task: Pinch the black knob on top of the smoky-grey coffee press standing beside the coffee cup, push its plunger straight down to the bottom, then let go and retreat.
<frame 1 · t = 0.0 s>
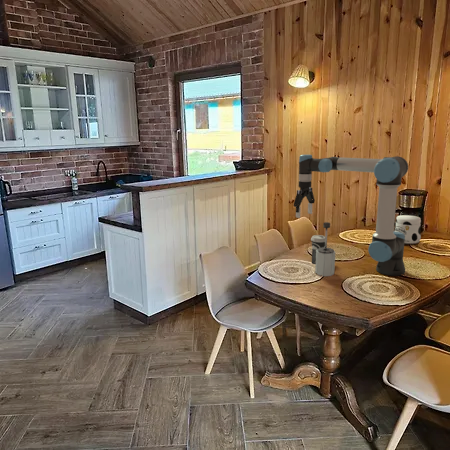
hand: (304, 215, 235), 28 cm above the table, fingers open, 13 cm apart
plunger: (326, 238, 213), point 20 cm above the table, slide at 0.0 cm
milk container: (406, 242, 270), on the table
carafe: (324, 272, 218), on the table
coffee cup: (317, 260, 240), on the table
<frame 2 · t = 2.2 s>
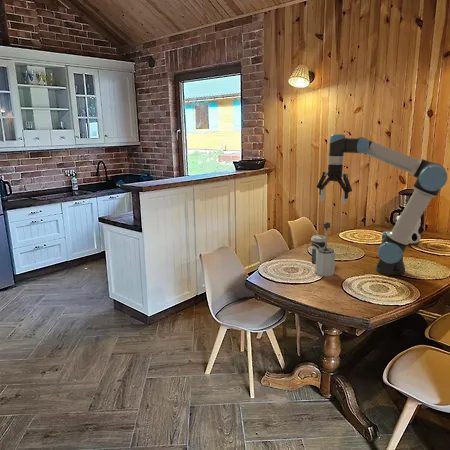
hand: (332, 202, 211), 40 cm above the table, fingers open, 13 cm apart
nothing on the table moved.
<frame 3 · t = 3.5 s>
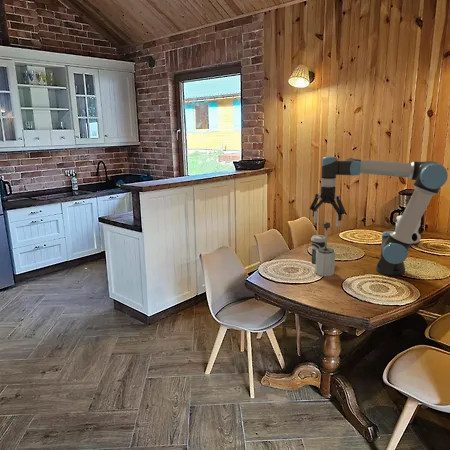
hand: (326, 224, 211), 28 cm above the table, fingers open, 13 cm apart
nothing on the table moved.
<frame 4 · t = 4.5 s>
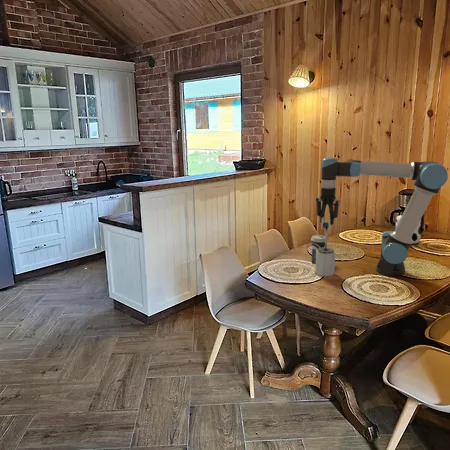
hand: (326, 229, 212), 26 cm above the table, fingers closed on plunger, 4 cm apart
plunger: (326, 238, 213), point 20 cm above the table, slide at 0.0 cm, touching gripper
everything else where it was.
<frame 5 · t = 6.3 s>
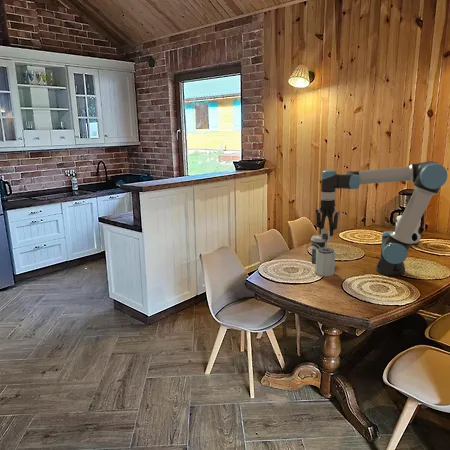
hand: (326, 240, 213), 19 cm above the table, fingers closed on plunger, 4 cm apart
plunger: (325, 249, 215), point 14 cm above the table, slide at 6.5 cm, touching gripper
everything else where it was.
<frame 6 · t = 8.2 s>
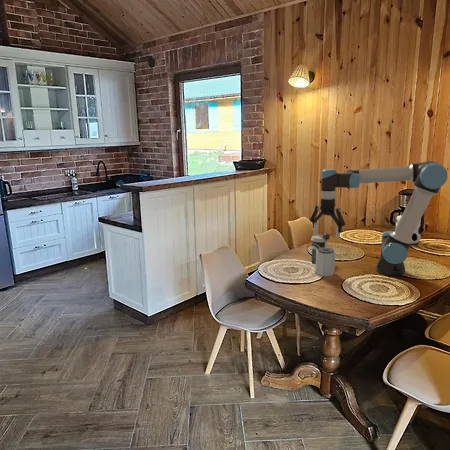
hand: (326, 236, 213), 22 cm above the table, fingers open, 13 cm apart
plunger: (325, 249, 215), point 14 cm above the table, slide at 6.5 cm
everything else where it was.
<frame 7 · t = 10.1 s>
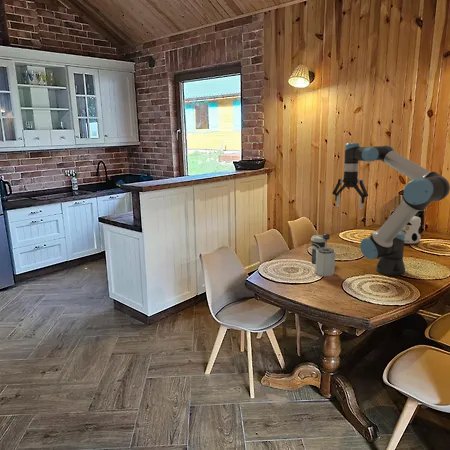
hand: (349, 207, 222), 35 cm above the table, fingers open, 13 cm apart
nothing on the table moved.
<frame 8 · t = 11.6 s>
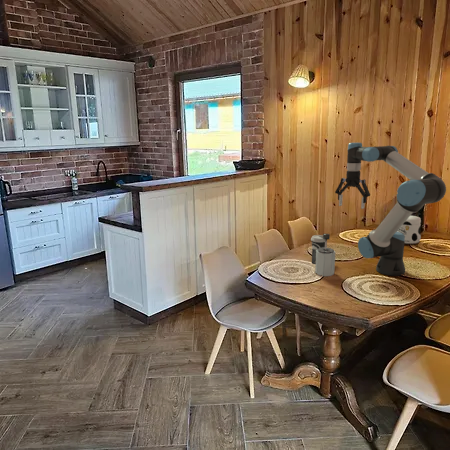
hand: (351, 207, 224), 35 cm above the table, fingers open, 13 cm apart
nothing on the table moved.
at the end: plunger slide at 6.5 cm; the gripper is holding nothing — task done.
